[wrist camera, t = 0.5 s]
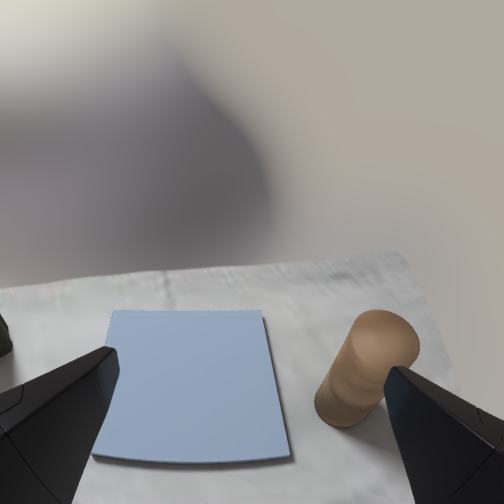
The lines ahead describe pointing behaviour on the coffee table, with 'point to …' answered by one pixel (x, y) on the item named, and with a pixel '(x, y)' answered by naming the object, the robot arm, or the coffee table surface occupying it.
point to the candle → (4, 338)
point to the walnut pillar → (365, 367)
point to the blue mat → (192, 389)
